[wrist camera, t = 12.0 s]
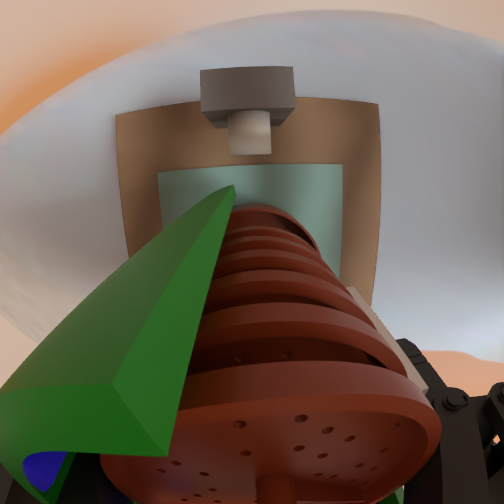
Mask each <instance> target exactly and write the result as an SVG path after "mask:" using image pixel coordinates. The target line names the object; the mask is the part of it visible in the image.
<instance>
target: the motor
mask: <svg viewBox="0 0 504 504" xmlns="http://www.w3.org/2000/svg"><path fill="white" fill-rule="evenodd" d="M235 197H236V193H235V189H234V185H229V186H226V187H224V188H221V189H219V190H217V191H215V192H213V193H211V194H209V195H208V196H206V197H205V198H204V199H202V200H201V201H200V202H198V203H197V204H196V205H194V206H193V207H192V208H191V209H189V210H188V211H187V212H185V213H184V214H183V215H182V216H180V217H179V218H178V219H177V220H175V221H174V222H173V223H172V224H170V225H169V226H168V227H167V228H165V229H164V230H163V231H162V232H160V233H159V234H158V235H157V236H155V237H154V238H153V239H152V240H151V241H149V242H148V243H147V244H146V245H145V246H143V247H142V248H141V249H140V250H139V251H138V252H136V253H135V254H134V255H133V256H132V257H131V258H129V259H128V260H127V261H126V262H125V263H124V264H123V265H121V266H120V267H119V268H118V269H117V270H116V271H115V272H113V273H112V274H111V275H110V276H109V277H108V278H107V279H106V280H105V281H103V282H102V283H101V284H100V285H99V286H98V287H97V288H96V289H95V290H94V291H93V292H92V293H90V294H89V295H88V296H87V297H86V298H85V299H84V300H83V301H82V302H81V303H80V304H79V305H78V306H77V307H76V308H75V309H74V310H73V311H72V312H71V313H70V314H69V315H68V316H67V317H66V318H65V319H64V320H63V321H62V322H61V323H60V324H59V325H58V326H57V327H56V328H55V329H54V330H53V331H52V332H51V333H50V334H49V335H48V336H47V337H46V338H45V339H44V340H43V341H42V342H41V343H40V344H39V345H38V346H37V348H36V349H35V350H34V351H33V352H32V353H31V354H30V355H29V356H28V357H27V358H26V360H25V361H24V362H23V363H22V364H21V365H20V366H19V367H18V369H17V370H16V371H15V372H14V373H13V374H12V375H11V377H10V378H9V379H8V380H7V382H6V383H5V384H4V385H3V386H2V387H1V389H0V462H1V464H2V465H3V466H4V467H5V469H6V470H7V471H8V472H9V473H10V474H11V476H12V477H13V478H14V479H15V480H16V481H17V482H18V483H19V484H20V485H21V486H22V487H23V488H24V489H26V490H27V491H28V492H29V493H30V494H31V495H32V496H34V497H35V498H36V499H37V500H38V501H40V502H41V503H42V504H56V501H57V498H58V496H59V493H60V491H61V488H62V486H63V483H64V481H65V478H66V476H67V473H68V471H69V469H70V466H71V464H72V462H73V459H74V457H75V455H76V452H84V453H100V461H101V466H102V468H103V471H104V472H105V474H106V476H107V477H108V479H109V480H110V481H111V482H112V484H113V485H114V486H115V487H116V488H117V489H118V490H119V491H121V492H122V493H123V494H124V495H125V496H127V497H128V498H130V499H131V500H132V501H133V504H403V497H404V490H403V487H402V486H403V485H405V484H406V483H407V482H408V481H410V480H411V479H412V478H413V477H414V476H415V475H416V474H417V473H418V472H419V471H420V470H421V469H422V468H423V467H424V466H425V465H426V463H427V462H428V461H429V459H430V458H431V457H432V455H433V454H434V452H435V450H436V448H437V446H438V444H439V441H440V438H441V433H442V425H441V421H440V418H439V416H438V415H437V413H436V412H435V410H434V409H433V407H432V406H431V404H430V403H429V401H428V400H427V398H426V397H425V395H424V394H423V392H422V391H421V389H420V388H419V387H418V386H417V385H416V384H415V383H414V382H412V381H411V380H410V379H408V376H407V372H406V370H405V367H404V366H403V364H402V362H401V361H400V359H399V358H398V356H397V355H396V354H395V352H394V351H393V349H392V348H391V347H390V345H389V344H388V343H387V341H386V340H385V339H384V338H383V337H382V335H381V334H380V333H378V331H377V329H376V327H375V326H374V324H373V322H372V321H371V320H370V318H369V317H368V316H367V314H366V313H365V312H364V311H363V309H362V308H361V307H360V305H359V304H358V303H357V302H356V301H355V300H354V298H353V297H352V295H351V294H350V293H349V291H348V290H347V289H346V287H345V286H344V285H343V284H342V282H341V281H340V280H339V279H338V278H337V277H336V275H335V274H334V272H333V271H332V270H331V269H330V267H329V266H328V265H327V264H326V263H325V262H324V260H323V259H322V258H321V254H320V251H319V249H318V246H317V244H316V242H315V241H314V239H313V238H312V236H311V235H310V233H309V232H308V231H307V230H306V229H305V228H304V227H303V226H302V225H301V224H300V223H299V222H298V221H297V220H296V219H295V218H294V217H293V216H291V215H290V214H289V213H287V212H285V211H284V210H282V209H280V208H277V207H275V206H271V205H267V204H262V203H246V204H240V205H236V206H233V204H234V200H235Z"/></svg>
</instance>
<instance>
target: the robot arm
mask: <svg viewBox="0 0 504 504" xmlns="http://www.w3.org/2000/svg"><path fill="white" fill-rule="evenodd" d="M346 289H347V290H348V291H349V293H350V294H351V295H352V297H353V298H354V300H355V301H356V302H357V303H358V304H359V305H360V307H361V308H362V309H363V311H364V312H365V313H366V314H367V316H368V317H369V318H370V320H371V321H372V322H373V324H374V326H375V327H376V329H377V331H378V333H380V334H381V335H382V337H383V338H384V339H385V340H386V341H387V343H388V344H389V345H390V347H391V348H392V349H393V351H394V352H395V354H396V355H397V356H398V358H399V359H400V361H401V362H402V364H403V366H404V367H405V370H406V372H407V376H408V379H410V380H411V381H412V382H414V383H415V384H416V385H417V386H418V387H419V388H420V389H421V391H422V392H423V394H424V395H425V397H426V398H427V400H428V401H429V403H430V404H431V406H432V407H433V409H434V410H435V412H436V413H437V415H438V416H439V418H440V421H441V425H442V433H441V438H440V441H439V444H438V446H437V448H436V450H435V452H434V454H433V455H432V457H431V458H430V459H429V461H428V462H427V463H426V465H425V466H424V467H423V468H422V469H421V470H420V471H419V472H418V473H417V474H416V475H415V476H414V477H413V478H412V479H411V480H410V481H408V482H407V483H406V484H405V485H404V497H403V504H504V382H500V383H496V384H495V385H493V386H492V388H491V390H490V391H489V393H488V395H484V396H476V397H469V396H468V395H467V394H466V393H465V392H464V391H463V390H460V389H458V388H453V387H447V386H446V385H445V383H444V382H443V380H442V379H441V378H440V377H439V375H438V374H437V372H436V371H435V370H434V368H433V367H432V366H431V365H430V363H428V362H427V359H426V358H425V357H424V355H422V353H421V352H420V350H419V349H418V348H417V346H416V345H415V344H413V343H412V342H410V341H408V340H407V339H405V338H403V339H398V340H395V339H394V338H393V336H392V335H391V334H390V332H389V331H388V330H387V328H386V327H385V326H384V324H383V323H382V322H381V320H380V319H379V318H378V316H377V315H376V314H375V312H374V311H373V310H372V309H371V307H370V306H369V305H368V303H367V302H366V301H365V300H364V298H363V297H362V296H361V294H360V293H359V292H358V291H357V289H356V288H355V287H346ZM496 435H498V436H499V438H500V441H499V442H498V444H496V443H495V442H494V441H493V439H494V438H495V437H496ZM0 504H42V503H41V502H40V501H38V500H37V499H36V498H35V497H34V496H32V495H31V494H30V493H29V492H28V491H27V490H26V489H24V488H23V487H22V486H21V485H20V484H19V483H18V482H17V481H16V480H15V479H14V478H13V477H12V476H11V474H10V473H9V472H8V471H7V470H6V469H5V467H4V466H3V465H2V464H1V462H0ZM56 504H133V501H132V500H131V499H130V498H128V497H127V496H125V495H124V494H123V493H122V492H121V491H119V490H118V489H117V488H116V487H115V486H114V485H113V484H112V482H111V481H110V480H109V479H108V477H107V476H106V474H105V472H104V471H103V468H102V466H101V461H100V453H84V452H76V455H75V457H74V459H73V462H72V464H71V466H70V469H69V471H68V473H67V476H66V478H65V481H64V483H63V486H62V488H61V491H60V493H59V496H58V498H57V501H56Z"/></svg>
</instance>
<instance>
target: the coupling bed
mask: <svg viewBox="0 0 504 504" xmlns="http://www.w3.org/2000/svg"><path fill="white" fill-rule="evenodd" d="M200 86H201V101H197V102H188V103H181V104H174V105H167V106H161V107H155V108H149V109H144V110H139V111H134V112H129V113H125V114H120V115H116V141H117V161H118V175H119V186H120V196H121V205H122V214H123V221H124V229H125V235H126V242H127V248H128V254H129V258H131V257H132V256H133V255H134V254H135V253H136V252H138V251H139V250H140V249H141V248H142V247H143V246H145V245H146V244H147V243H148V242H149V241H151V240H152V239H153V238H154V237H155V236H157V235H158V234H159V233H160V232H162V231H163V230H164V229H165V228H167V227H168V226H169V225H170V224H172V223H173V222H174V221H175V220H177V219H178V218H179V217H180V216H182V215H183V214H184V213H185V212H187V211H188V210H189V209H191V208H192V207H193V206H194V205H196V204H197V203H198V202H200V201H201V200H202V199H204V198H205V197H206V196H208V195H209V194H211V193H213V192H215V191H217V190H219V189H221V188H224V187H226V186H229V185H234V189H235V193H236V197H235V200H234V204H233V206H236V205H240V204H246V203H262V204H267V205H271V206H275V207H277V208H280V209H282V210H284V211H285V212H287V213H289V214H290V215H291V216H293V217H294V218H295V219H296V220H297V221H298V222H299V223H300V224H301V225H302V226H303V227H304V228H305V229H306V230H307V231H308V232H309V233H310V235H311V236H312V238H313V239H314V241H315V242H316V244H317V246H318V249H319V251H320V254H321V258H322V259H323V260H324V262H325V263H326V264H327V265H328V266H329V267H330V269H331V270H332V271H333V272H334V274H335V275H336V277H337V278H338V279H339V280H340V281H341V282H342V284H343V285H344V286H345V287H355V288H356V289H357V291H358V292H359V293H360V294H361V296H362V297H363V298H364V300H365V301H366V302H367V303H368V305H369V306H370V307H371V301H372V294H373V286H374V279H375V270H376V261H377V251H378V239H379V225H380V204H381V141H380V121H379V108H378V104H374V103H367V102H358V101H349V100H339V99H326V98H307V97H295V90H294V77H293V67H285V66H259V67H234V68H220V69H210V70H200Z"/></svg>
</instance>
